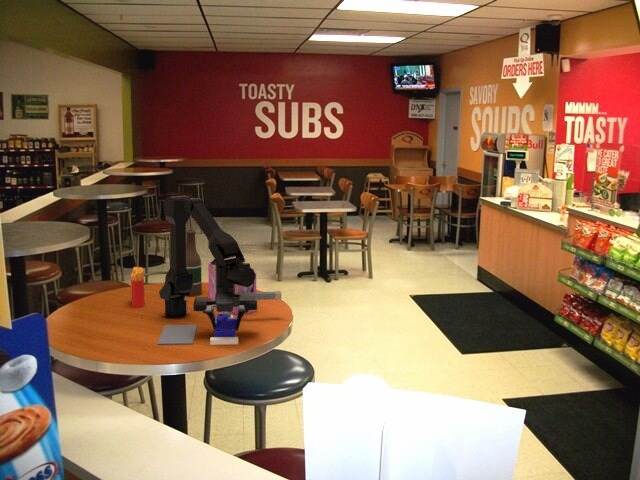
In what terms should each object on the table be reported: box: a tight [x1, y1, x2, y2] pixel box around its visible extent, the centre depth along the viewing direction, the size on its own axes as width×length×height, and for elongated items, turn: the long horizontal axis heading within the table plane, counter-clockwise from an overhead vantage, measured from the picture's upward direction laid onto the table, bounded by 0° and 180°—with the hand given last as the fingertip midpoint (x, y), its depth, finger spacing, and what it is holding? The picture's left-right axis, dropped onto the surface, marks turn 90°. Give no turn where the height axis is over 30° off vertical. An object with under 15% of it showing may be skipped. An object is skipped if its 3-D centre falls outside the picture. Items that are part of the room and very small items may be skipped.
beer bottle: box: [186, 229, 203, 297], centre depth 223 cm, size 8×8×24 cm
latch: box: [222, 290, 282, 318], centre depth 197 cm, size 3×19×9 cm, turn 99°
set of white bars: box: [209, 314, 239, 346], centre depth 187 cm, size 8×24×2 cm, turn 7°
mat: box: [156, 324, 198, 346], centre depth 182 cm, size 10×16×1 cm, turn 7°
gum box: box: [207, 261, 257, 316], centre depth 211 cm, size 24×8×14 cm, turn 35°
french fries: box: [130, 266, 145, 308], centre depth 209 cm, size 9×4×13 cm, turn 19°
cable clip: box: [213, 313, 237, 337], centre depth 183 cm, size 12×4×6 cm
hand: (226, 330), depth 184 cm, fingers closed on cable clip, 6 cm apart
